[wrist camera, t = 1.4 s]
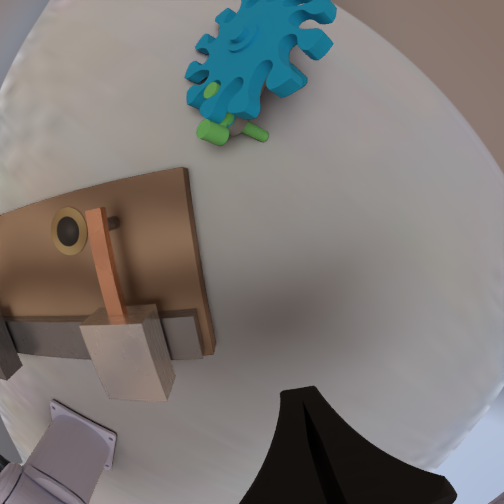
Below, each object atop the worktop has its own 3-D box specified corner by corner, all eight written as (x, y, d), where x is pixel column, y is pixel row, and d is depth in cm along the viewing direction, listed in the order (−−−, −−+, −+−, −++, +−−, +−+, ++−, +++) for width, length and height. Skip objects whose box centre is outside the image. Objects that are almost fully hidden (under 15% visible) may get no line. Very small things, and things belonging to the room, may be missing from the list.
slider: (178, 368, 18) (167, 401, 14) (126, 368, 18) (109, 398, 14) (141, 200, 15) (116, 203, 12) (85, 211, 15) (52, 218, 12)
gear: (225, -15, 12) (351, -36, 7) (279, 26, 17) (396, 36, 11) (150, 117, 16) (244, 161, 10) (218, 142, 20) (321, 194, 15)
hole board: (215, 343, 19) (213, 356, 18) (11, 341, 20) (1, 349, 18) (187, 168, 17) (181, 166, 15) (-21, 225, 17) (-33, 228, 15)
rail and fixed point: (208, 362, 18) (200, 401, 14) (7, 353, 18) (-15, 373, 14) (177, 194, 16) (155, 196, 12) (-26, 243, 16) (-56, 253, 12)
